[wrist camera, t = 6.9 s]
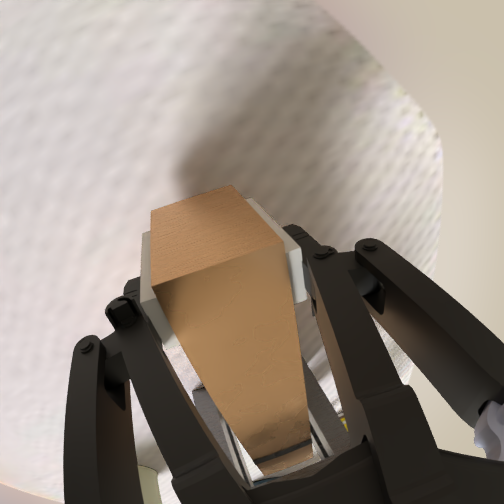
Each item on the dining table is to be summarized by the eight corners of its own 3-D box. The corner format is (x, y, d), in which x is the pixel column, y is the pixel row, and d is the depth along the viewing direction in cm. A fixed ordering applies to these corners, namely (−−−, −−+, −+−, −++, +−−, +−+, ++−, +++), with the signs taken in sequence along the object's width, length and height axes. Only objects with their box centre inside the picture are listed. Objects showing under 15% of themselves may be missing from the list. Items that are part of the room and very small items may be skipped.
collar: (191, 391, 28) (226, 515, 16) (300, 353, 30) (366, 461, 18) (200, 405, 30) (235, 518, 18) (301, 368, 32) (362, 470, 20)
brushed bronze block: (150, 211, 17) (150, 287, 10) (231, 184, 18) (284, 241, 11) (240, 414, 29) (264, 476, 22) (284, 398, 30) (313, 457, 23)
